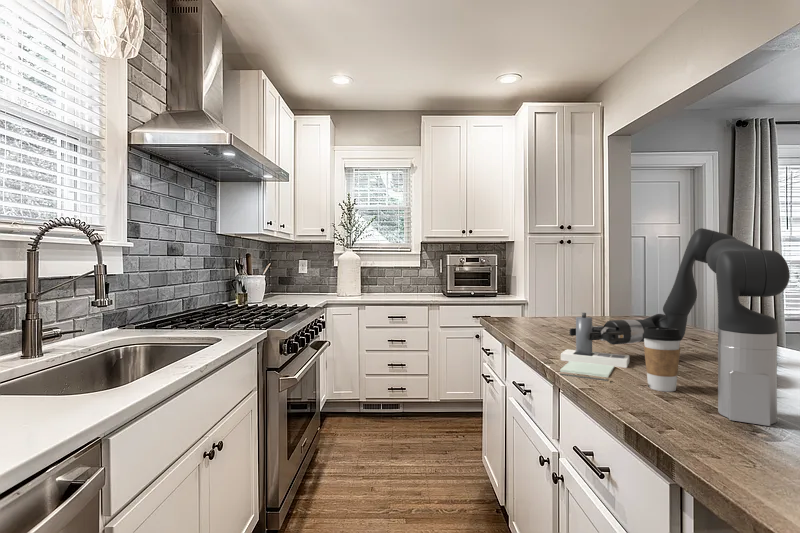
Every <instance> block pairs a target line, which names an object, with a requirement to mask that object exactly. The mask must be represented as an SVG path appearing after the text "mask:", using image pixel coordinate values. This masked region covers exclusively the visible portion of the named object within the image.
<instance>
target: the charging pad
mask: <svg viewBox="0 0 800 533" xmlns="http://www.w3.org/2000/svg"><path fill="white" fill-rule="evenodd" d="M614 369H615V366H609V365H600V364H591V363H582V362H573V361H567V363H566V364H564V365H563V366H562V367H561V368H560V370H559V372H561V373H559V375H560V376H566V377H571V378H572V377H573V378H580V379H587V380H588V379H589V380H596V381H605V382H609V380H610V379H608V378H609V376H610V375H611V374H612V372H613V370H614ZM566 373H567V374H566ZM576 374H577V375H576ZM583 375H586V376H583ZM592 376H594V377H592ZM599 377H600V378H599ZM606 378H607V379H606Z"/></svg>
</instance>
